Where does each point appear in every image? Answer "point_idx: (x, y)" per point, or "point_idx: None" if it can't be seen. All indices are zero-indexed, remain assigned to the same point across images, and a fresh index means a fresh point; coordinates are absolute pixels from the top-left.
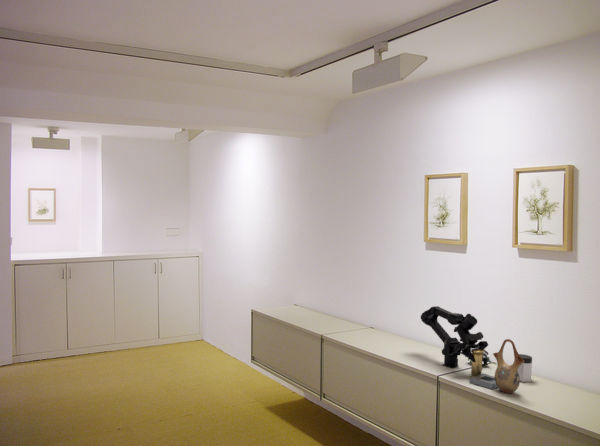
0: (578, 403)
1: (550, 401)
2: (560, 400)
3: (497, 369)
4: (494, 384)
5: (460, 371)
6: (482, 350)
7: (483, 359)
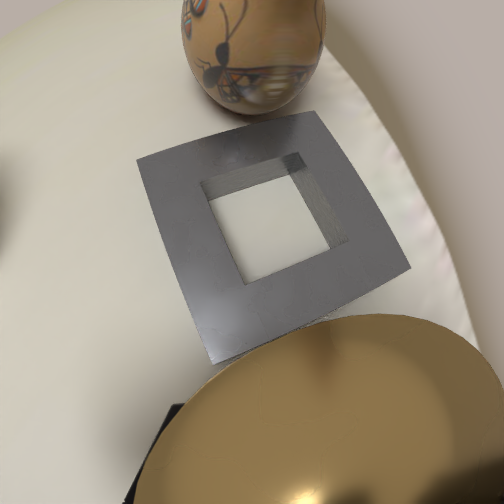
0: (73, 9)
1: (142, 12)
2: (97, 19)
3: (323, 5)
4: (291, 119)
5: None
6: (171, 494)
7: (169, 414)
